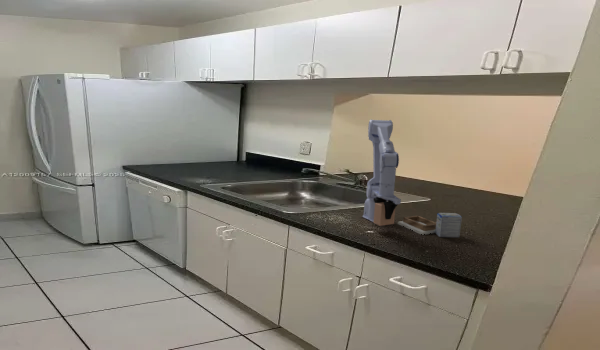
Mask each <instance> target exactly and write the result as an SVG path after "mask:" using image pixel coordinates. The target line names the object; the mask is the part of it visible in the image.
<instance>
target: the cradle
mask: <svg viewBox="0 0 600 350" xmlns="http://www.w3.org/2000/svg"><path fill="white" fill-rule="evenodd" d="M436 222H437V221H433V220H430V219H428V218H425V217H424V216H423V217H422V216H420V215H413V216H412V215H411V216H405V217H403V219H402V221H397V225H399V226H401V227H403V226H404V227H403V228H406V229H408V230H410V229H411V230H410V231H412V230H413V232H414V233H417V234H419V235H421V234H422V236H423V235H424V234H425V235H429V234H430V233H431V234H436V233H435V231H436ZM431 234H430V235H431ZM425 235H424V236H425Z"/></svg>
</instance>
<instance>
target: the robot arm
mask: <svg viewBox="0 0 600 350" xmlns="http://www.w3.org/2000/svg"><path fill="white" fill-rule="evenodd" d="M367 125H368V131H367V132H368V135H367V137H368V140H369V141H371V143H372V148H373V151H372V155H373V159H372V161H373V163H372V165H373V168H372V169H373V173H372V174H373V177H372V178H370V179H369V180H368V181H367V184H366V199H365V201H364V204H363V205H364V207H363V208H364V209H363V215H362V216H361V217H362V218H364V219H366V220H368V221H370V222H372V223H373V222H374V209H375V203H381V202H384V206H385V219H391V216H392V214H393V211H394V209H395V210H396V207H397V206H398V205H401V200H402V199H401V198H399V197H398V196H396V195H395V185H396V175H397V174H396V173H397V169H398V167H399V164H400V158H399V152H397V151H396V150H395V147H394V143H393V141H391V140H390V139H391V136H392V133H393V128H394V123H393V121H392V120H391V119H389V120H387V119H386V120H385V119H380V120H379V119H369V121H368V124H367Z"/></svg>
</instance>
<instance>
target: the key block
mask: <svg viewBox="0 0 600 350" xmlns="http://www.w3.org/2000/svg"><path fill="white" fill-rule="evenodd" d="M395 215H396V208H395V209H394V211H393V214H392V216H391V219H385V206H384V202H381V203H375V209H374V222H372V223H374V224H375V225H377V226H380V227H382V226H389V225H394V224H395V218H396V217H395Z"/></svg>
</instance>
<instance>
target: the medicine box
mask: <svg viewBox="0 0 600 350" xmlns="http://www.w3.org/2000/svg"><path fill="white" fill-rule="evenodd" d="M462 219H463V217H462V215H460V214H458V213H455V212H438V213H437V214H436V221H435V222H436V231H435V233H434V234H435V235H437V236H438V237H439V238H460V235H461V229H462Z"/></svg>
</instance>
